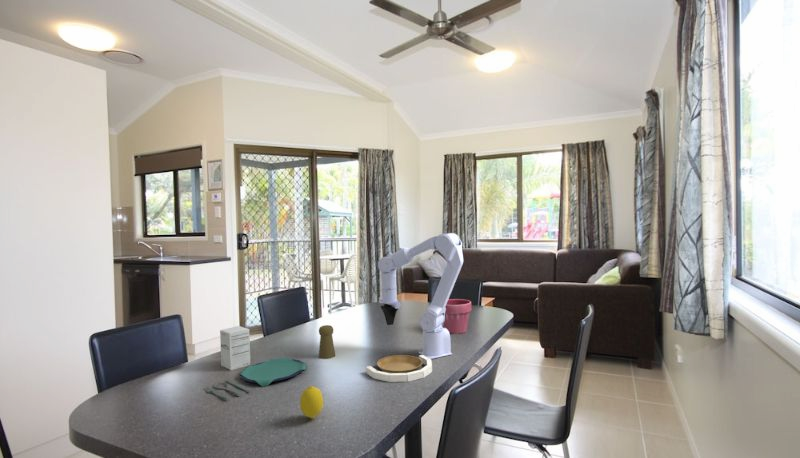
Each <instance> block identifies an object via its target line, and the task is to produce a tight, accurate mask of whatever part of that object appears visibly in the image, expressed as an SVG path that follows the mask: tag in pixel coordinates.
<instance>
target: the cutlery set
mask: <svg viewBox="0 0 800 458" xmlns="http://www.w3.org/2000/svg"><path fill="white" fill-rule="evenodd" d="M307 366H308V365H307V364H306V363H304V362H303V361H301V360H299V359H293V358H289V357H278V358H271V359H268V360H265V361H262V362H258V363H256V364H253V365H249V366H245V368H244V369H243V370H242V371H241V372H240V373H239V376H240V377H241V378H240V379H242V380H243V381H245V382H249V383H253V384H256V383H257V384H258V385H259V386H261V387H268V386H269V385H270V384H271V383H274V382H279V381H284V380H287V379H289V378H290V379H291V378H293V377H295V376H297V375H299V374H300V373H301V372H305V371H306V369H307ZM225 382H226V383H224V382H217V383H214V384H213V388H215V389H213V388H210V387H209V386H208V387H204V388H202V390H204V392H206V393H208V394H213V395H215V396H216V397H218V398H220V399H222V400H224V401H225V402H228V401H230V398H229V397H228V396H226V395H222V394H221V393H218V392H217V391H216V390H225V391H227V392H230V393H232V394H233V395H235V396H237V397H239V396H241V395H242V393H241V392H239V391H237V390H234V389H229V388H228V384H230V385H232V386H234V387H236V389H242V390H244V391H246V392H247V393H248V394H251V393H252V390H248V389H246V388H245V387H243V385H242V384H238V383H237V382H234V381H232V380H230V379H225ZM227 383H228V384H227ZM221 385H223V386H225V387H216V386H221Z"/></svg>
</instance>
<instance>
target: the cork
mask: <svg viewBox="0 0 800 458" xmlns="http://www.w3.org/2000/svg"><path fill="white" fill-rule="evenodd" d="M318 334H319V335H320V337H319V338H320V339H319V350H318V358H319V359H321V360H327V359H333V358H335V357H336V351H335V345H334V340H333V334H334V328H333V326H332V325H322V326H320V327H319V328H318Z"/></svg>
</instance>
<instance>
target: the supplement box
mask: <svg viewBox="0 0 800 458" xmlns="http://www.w3.org/2000/svg"><path fill="white" fill-rule="evenodd" d="M219 334H220V335H219V336H220V341H219V342H220V367H223V368H226V369H228V370H229V371H235V370H238V369H242V368H244V367H245V368H246V367H249V366H251V344H250V341H251V340H250V338H251V337H250V329H249V328H246V327H243V326H240V325H237V326H231V327H227V328H223V329H220V330H219Z"/></svg>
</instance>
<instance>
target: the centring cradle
mask: <svg viewBox="0 0 800 458" xmlns="http://www.w3.org/2000/svg"><path fill="white" fill-rule="evenodd" d="M418 358H419V359H421V360H422V362H423V363H422V365H424V367H422V368H420V369H418V370H417V371H413V372H409V373H386V372H383V371H382V370H381V371H380V370H378V369H376V368H374V367H373V366H372V365H368V366H366V368H365V369H366V371H365V372H366V374H367V375H369V376H370V377H371V378H372V379H374V380H378V381H383V382H387V383H388V382H389V383H400V382H404V383H406V382H411V381H415V380H419V379H423V378H426V377H427V376H428V375H430V374H431V373H432V372H433V361H432V359H430V358H428V357H426V356H424V355H421V354H419V355H418Z"/></svg>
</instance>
